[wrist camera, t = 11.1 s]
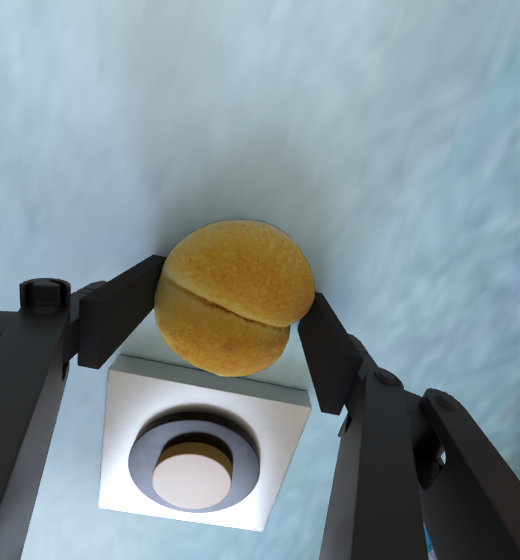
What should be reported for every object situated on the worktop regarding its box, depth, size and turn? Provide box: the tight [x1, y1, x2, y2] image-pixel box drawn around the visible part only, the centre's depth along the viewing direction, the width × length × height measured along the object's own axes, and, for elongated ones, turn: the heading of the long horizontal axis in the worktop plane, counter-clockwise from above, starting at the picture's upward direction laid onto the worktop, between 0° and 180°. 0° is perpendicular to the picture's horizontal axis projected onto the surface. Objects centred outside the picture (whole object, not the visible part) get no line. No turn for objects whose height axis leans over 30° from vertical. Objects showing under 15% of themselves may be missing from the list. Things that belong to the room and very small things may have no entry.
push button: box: [98, 355, 312, 532], centre depth 18 cm, size 13×13×3 cm
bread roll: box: [154, 220, 315, 377], centre depth 14 cm, size 8×9×4 cm
